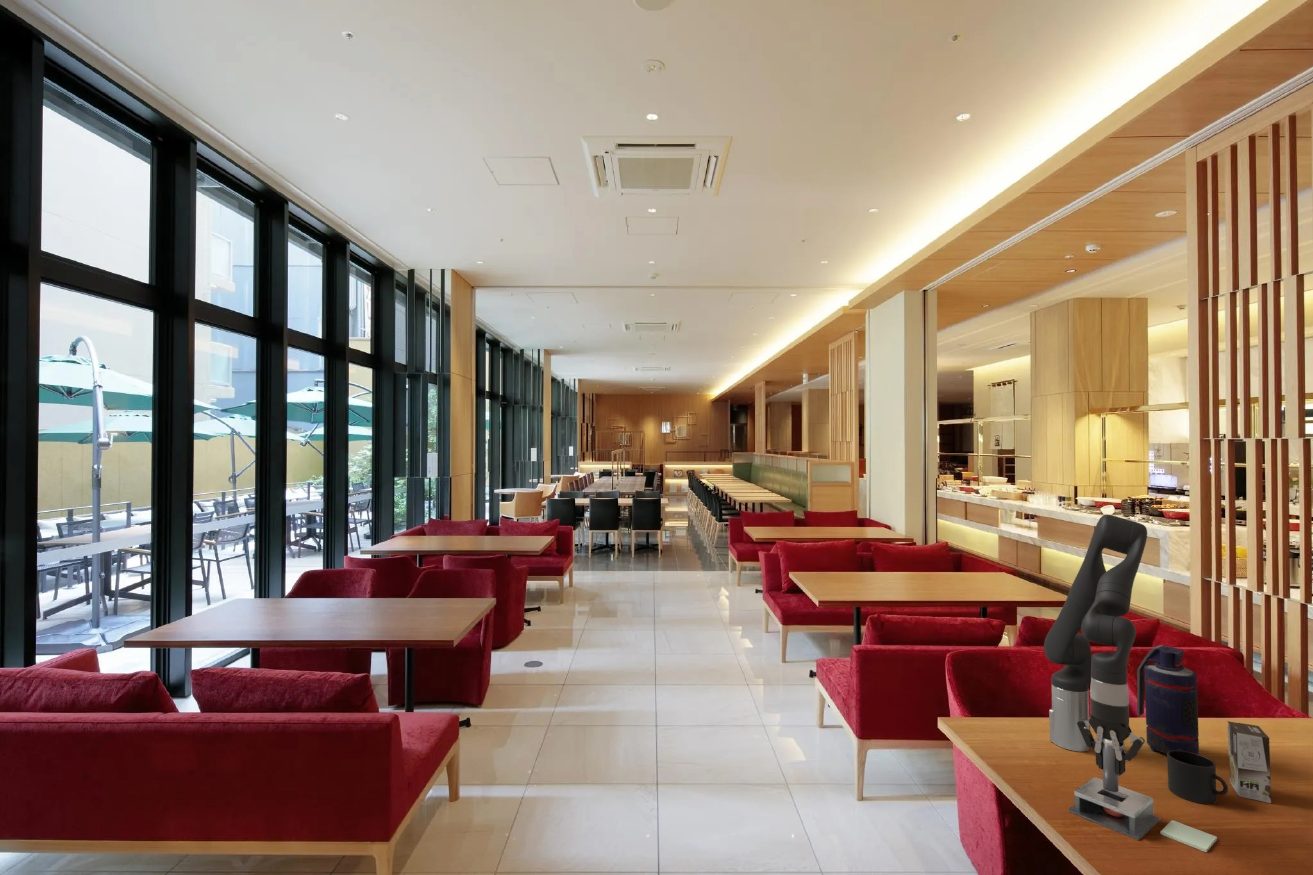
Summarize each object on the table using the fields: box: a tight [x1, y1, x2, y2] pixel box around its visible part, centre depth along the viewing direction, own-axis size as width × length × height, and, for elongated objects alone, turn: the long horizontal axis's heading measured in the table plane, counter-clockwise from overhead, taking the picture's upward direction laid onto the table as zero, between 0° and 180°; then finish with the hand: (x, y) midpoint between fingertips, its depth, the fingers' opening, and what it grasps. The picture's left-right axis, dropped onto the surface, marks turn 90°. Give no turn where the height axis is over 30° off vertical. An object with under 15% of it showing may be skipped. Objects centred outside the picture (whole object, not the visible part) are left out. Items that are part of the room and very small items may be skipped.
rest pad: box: [1160, 820, 1218, 853], centre depth 139 cm, size 8×8×1 cm
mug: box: [1166, 750, 1229, 805], centre depth 157 cm, size 9×12×9 cm
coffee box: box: [1227, 720, 1272, 804], centre depth 159 cm, size 9×6×16 cm
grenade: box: [1136, 644, 1200, 755], centre depth 183 cm, size 14×12×30 cm
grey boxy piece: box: [1068, 776, 1161, 841], centre depth 148 cm, size 14×14×5 cm
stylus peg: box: [1102, 738, 1119, 792], centre depth 149 cm, size 3×3×12 cm
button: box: [1103, 806, 1124, 817], centre depth 148 cm, size 4×4×1 cm
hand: (1110, 770), depth 149 cm, fingers closed on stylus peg, 3 cm apart
